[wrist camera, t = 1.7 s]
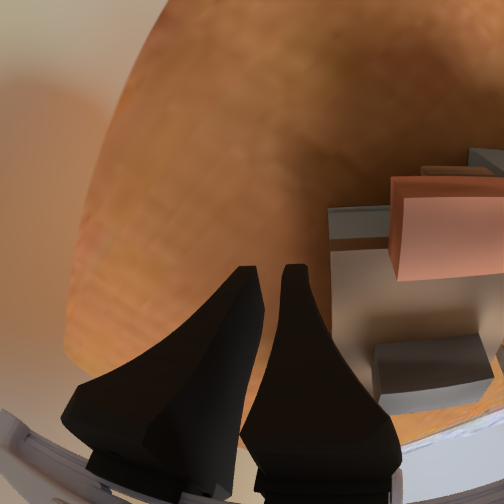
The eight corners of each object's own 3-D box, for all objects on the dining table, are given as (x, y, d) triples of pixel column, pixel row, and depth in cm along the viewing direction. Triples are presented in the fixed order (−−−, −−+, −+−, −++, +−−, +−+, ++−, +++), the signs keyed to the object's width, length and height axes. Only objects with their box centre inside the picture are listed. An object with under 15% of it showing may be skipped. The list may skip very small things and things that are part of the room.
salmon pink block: (511, 245, 13) (530, 270, 11) (388, 251, 15) (397, 281, 13) (525, 178, 11) (549, 198, 9) (390, 176, 13) (404, 198, 11)
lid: (463, 384, 23) (473, 435, 18) (330, 398, 27) (327, 453, 22) (537, 166, 12) (596, 212, 7) (324, 164, 15) (329, 217, 10)
